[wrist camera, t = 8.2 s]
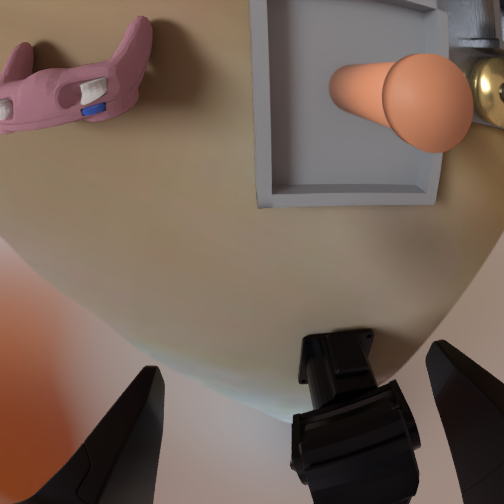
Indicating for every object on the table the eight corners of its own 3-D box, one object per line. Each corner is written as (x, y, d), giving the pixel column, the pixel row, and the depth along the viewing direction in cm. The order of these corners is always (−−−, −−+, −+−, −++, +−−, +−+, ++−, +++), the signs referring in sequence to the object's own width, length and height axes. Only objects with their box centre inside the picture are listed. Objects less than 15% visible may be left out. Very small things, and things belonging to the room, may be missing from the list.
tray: (419, 193, 20) (434, 205, 19) (255, 195, 20) (258, 208, 18) (428, 5, 14) (446, 1, 12) (247, -19, 13) (249, -30, 11)
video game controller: (35, 93, 17) (-15, 157, 13) (19, 40, 13) (-44, 96, 9) (163, 75, 17) (133, 140, 14) (158, 10, 14) (117, 52, 10)
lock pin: (379, 120, 17) (468, 157, 10) (323, 116, 17) (388, 149, 10) (381, 63, 15) (475, 65, 8) (323, 57, 15) (392, 44, 8)
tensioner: (517, 131, 18) (550, 146, 14) (436, 114, 17) (472, 125, 14) (517, 9, 12) (551, 9, 9) (432, -31, 12) (465, -42, 8)
